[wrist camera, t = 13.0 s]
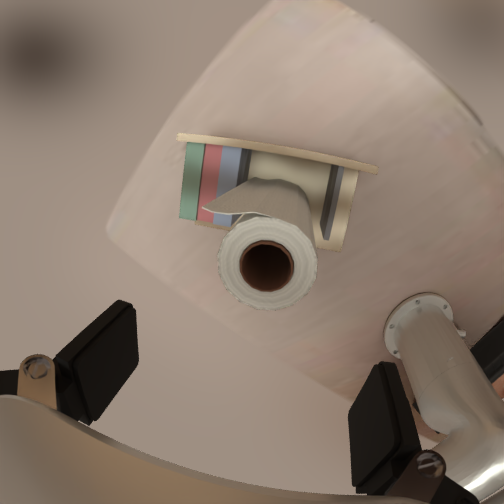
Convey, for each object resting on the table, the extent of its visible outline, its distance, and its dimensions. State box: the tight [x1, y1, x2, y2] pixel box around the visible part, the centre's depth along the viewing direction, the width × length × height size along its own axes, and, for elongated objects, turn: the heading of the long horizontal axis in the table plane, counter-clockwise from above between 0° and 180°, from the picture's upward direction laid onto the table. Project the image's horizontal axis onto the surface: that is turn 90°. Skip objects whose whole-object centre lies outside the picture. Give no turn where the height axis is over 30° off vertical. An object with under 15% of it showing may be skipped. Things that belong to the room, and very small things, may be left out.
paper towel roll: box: [202, 177, 318, 310], centre depth 27 cm, size 7×6×21 cm
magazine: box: [412, 320, 504, 434], centre depth 37 cm, size 17×3×30 cm
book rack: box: [177, 133, 379, 252], centre depth 33 cm, size 12×20×10 cm, turn 82°
